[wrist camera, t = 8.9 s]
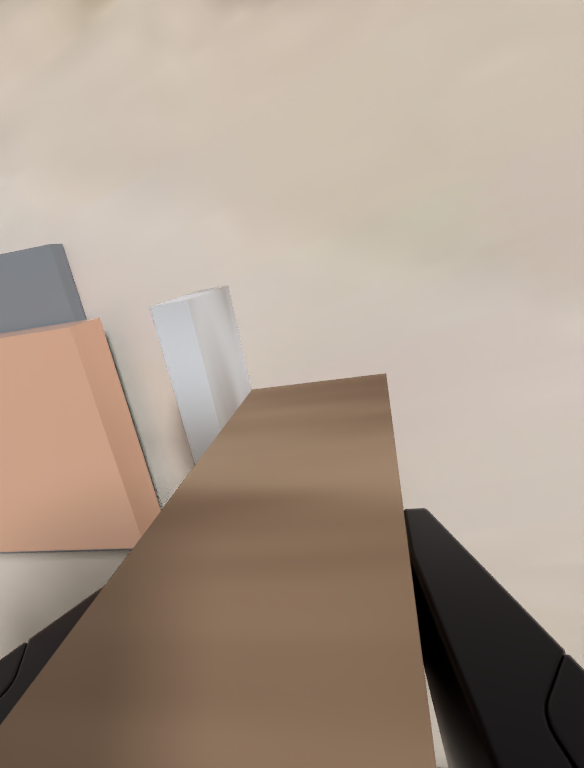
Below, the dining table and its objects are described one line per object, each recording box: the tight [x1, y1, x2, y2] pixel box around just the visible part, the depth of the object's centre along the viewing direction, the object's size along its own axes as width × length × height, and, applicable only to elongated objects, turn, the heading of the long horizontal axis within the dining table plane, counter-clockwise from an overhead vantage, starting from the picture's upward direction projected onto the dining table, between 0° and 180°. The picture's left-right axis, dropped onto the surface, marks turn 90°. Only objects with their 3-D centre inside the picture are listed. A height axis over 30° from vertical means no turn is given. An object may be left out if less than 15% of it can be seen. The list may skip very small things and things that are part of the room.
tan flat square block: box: [0, 318, 161, 552], centre depth 15 cm, size 8×2×8 cm
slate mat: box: [0, 244, 133, 553], centre depth 16 cm, size 12×9×1 cm
